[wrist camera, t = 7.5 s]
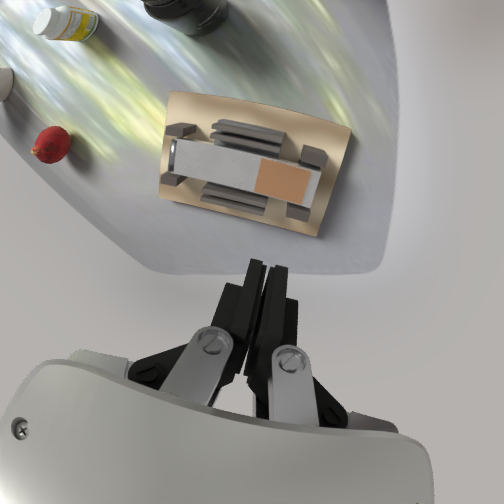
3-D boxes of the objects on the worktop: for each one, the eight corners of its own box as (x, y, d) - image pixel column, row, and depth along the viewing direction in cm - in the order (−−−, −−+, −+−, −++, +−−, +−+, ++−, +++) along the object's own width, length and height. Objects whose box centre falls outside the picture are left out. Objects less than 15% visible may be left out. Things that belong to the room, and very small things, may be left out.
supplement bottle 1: (103, 25, 23) (58, 17, 14) (79, 48, 24) (33, 47, 16) (94, 5, 20) (50, -4, 12) (71, 28, 22) (27, 25, 14)
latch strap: (174, 135, 27) (168, 137, 26) (320, 170, 26) (321, 173, 25) (170, 169, 29) (164, 172, 28) (310, 204, 28) (310, 209, 27)
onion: (81, 123, 31) (44, 134, 24) (79, 158, 34) (44, 174, 28) (58, 121, 31) (22, 132, 24) (56, 153, 34) (23, 168, 27)
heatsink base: (177, 91, 28) (153, 91, 23) (348, 127, 28) (360, 133, 22) (164, 192, 36) (143, 210, 30) (315, 229, 35) (318, 254, 30)
